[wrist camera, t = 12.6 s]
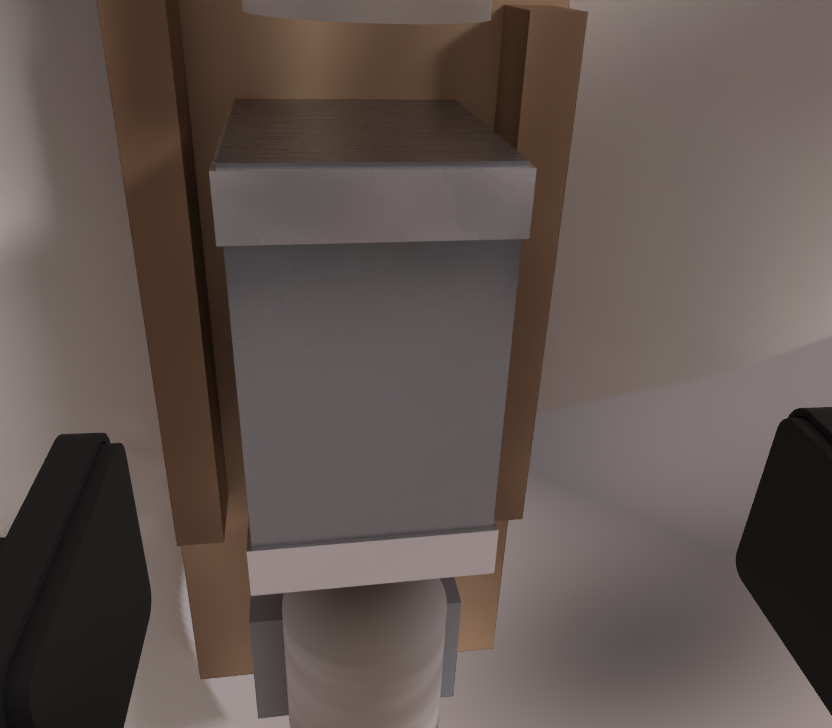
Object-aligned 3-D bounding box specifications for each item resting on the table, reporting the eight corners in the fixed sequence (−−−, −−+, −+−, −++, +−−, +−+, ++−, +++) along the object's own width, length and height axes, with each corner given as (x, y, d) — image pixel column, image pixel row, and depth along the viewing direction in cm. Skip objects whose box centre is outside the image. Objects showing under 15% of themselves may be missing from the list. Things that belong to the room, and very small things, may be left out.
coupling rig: (603, -433, 14) (872, -754, 8) (486, 626, 28) (550, 834, 21) (42, -504, 13) (-202, -979, 6) (203, 655, 26) (177, 889, 19)
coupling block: (458, 99, 18) (537, 162, 12) (441, 425, 22) (493, 576, 17) (230, 98, 17) (208, 164, 12) (257, 437, 21) (251, 599, 16)
